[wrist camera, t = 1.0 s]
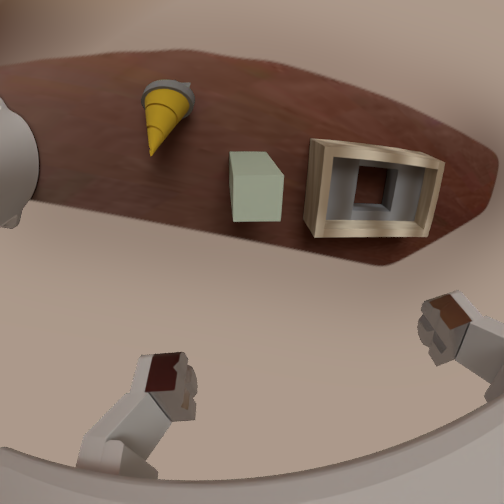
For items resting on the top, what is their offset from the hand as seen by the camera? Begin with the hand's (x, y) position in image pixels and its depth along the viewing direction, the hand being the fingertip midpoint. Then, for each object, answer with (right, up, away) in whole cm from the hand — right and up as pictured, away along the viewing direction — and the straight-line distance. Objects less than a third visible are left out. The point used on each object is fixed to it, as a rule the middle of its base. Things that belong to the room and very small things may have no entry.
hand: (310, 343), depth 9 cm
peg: (-2, +12, +24) cm, 27 cm away
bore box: (+12, +11, +26) cm, 31 cm away
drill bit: (-10, +18, +19) cm, 28 cm away
